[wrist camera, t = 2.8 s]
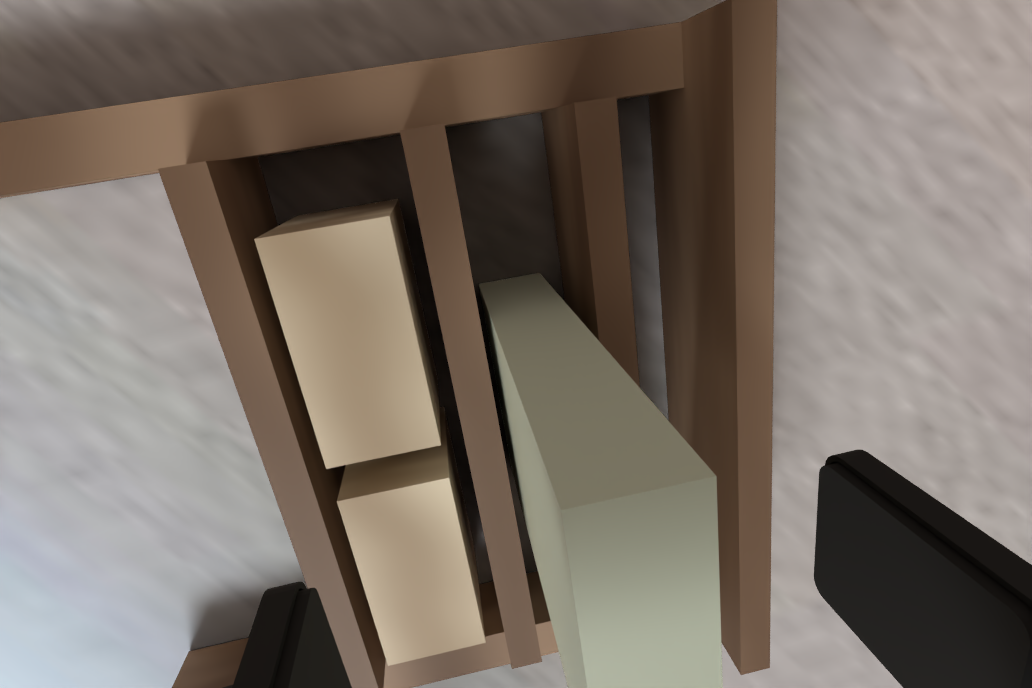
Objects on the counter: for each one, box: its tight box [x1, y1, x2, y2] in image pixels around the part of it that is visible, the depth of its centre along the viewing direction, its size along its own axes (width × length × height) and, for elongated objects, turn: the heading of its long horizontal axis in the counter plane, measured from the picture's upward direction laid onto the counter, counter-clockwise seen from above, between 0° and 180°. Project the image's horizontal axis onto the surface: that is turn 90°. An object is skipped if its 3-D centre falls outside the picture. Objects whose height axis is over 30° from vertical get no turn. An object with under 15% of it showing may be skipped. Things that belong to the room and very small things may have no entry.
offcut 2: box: [337, 407, 486, 666], centre depth 18 cm, size 3×6×4 cm, turn 9°
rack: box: [0, 0, 777, 688], centre depth 17 cm, size 20×20×5 cm
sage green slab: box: [479, 273, 723, 688], centre depth 14 cm, size 2×7×12 cm, turn 9°
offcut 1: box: [254, 199, 441, 469], centre depth 16 cm, size 3×6×4 cm, turn 9°
